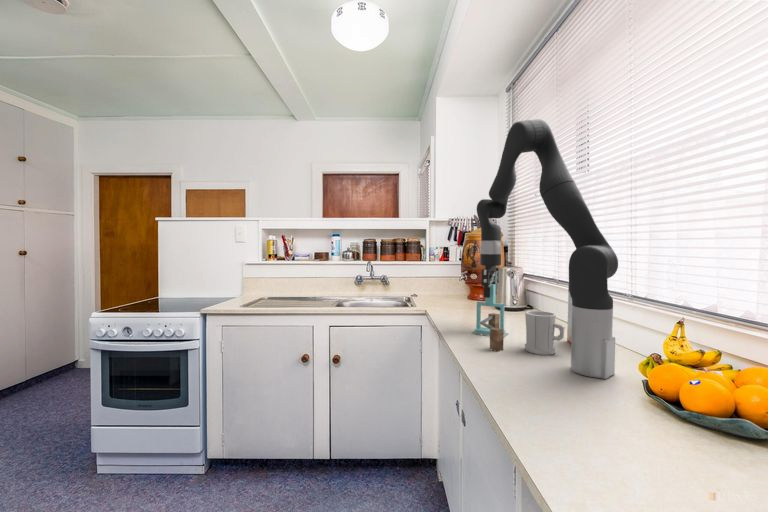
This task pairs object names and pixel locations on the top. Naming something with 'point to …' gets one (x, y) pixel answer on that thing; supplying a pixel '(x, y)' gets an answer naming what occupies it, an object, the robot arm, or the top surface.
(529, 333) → the cup
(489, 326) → the wire
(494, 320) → the wood grain block
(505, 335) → the pad
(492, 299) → the turquoise frame with handle
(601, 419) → the top surface
